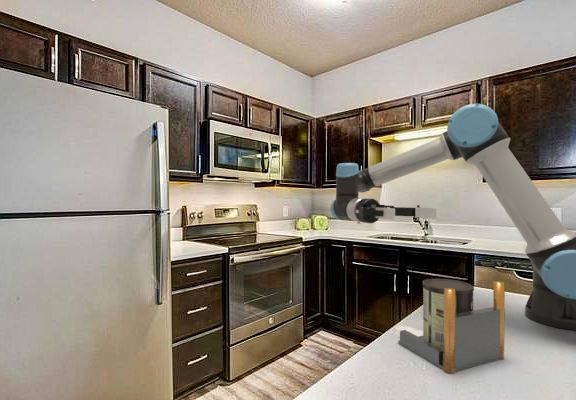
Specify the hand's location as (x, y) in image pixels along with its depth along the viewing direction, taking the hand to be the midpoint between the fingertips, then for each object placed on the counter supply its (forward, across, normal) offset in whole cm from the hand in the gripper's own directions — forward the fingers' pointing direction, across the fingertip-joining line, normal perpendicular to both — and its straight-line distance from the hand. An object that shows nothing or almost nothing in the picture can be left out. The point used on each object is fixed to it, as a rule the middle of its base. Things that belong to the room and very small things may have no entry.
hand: (415, 213), depth 81 cm
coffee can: (+10, 0, -30) cm, 31 cm away
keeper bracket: (+10, 0, -30) cm, 32 cm away
